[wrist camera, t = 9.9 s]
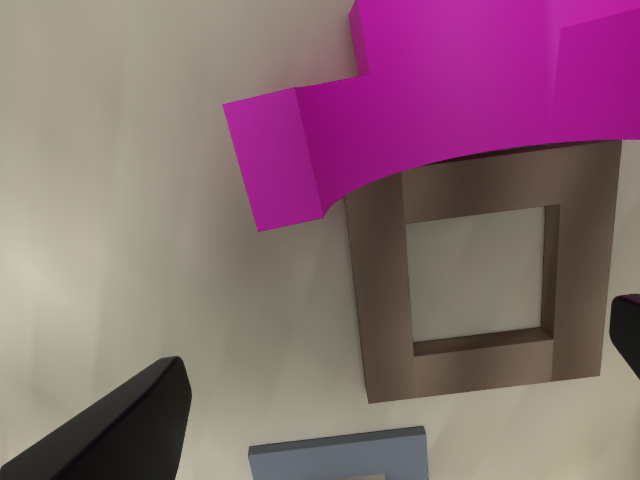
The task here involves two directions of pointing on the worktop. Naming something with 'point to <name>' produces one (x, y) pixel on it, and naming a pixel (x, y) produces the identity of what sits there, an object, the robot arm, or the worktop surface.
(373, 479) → the beech block
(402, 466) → the rubber mat
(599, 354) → the walnut collar
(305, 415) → the worktop surface
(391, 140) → the toy block
